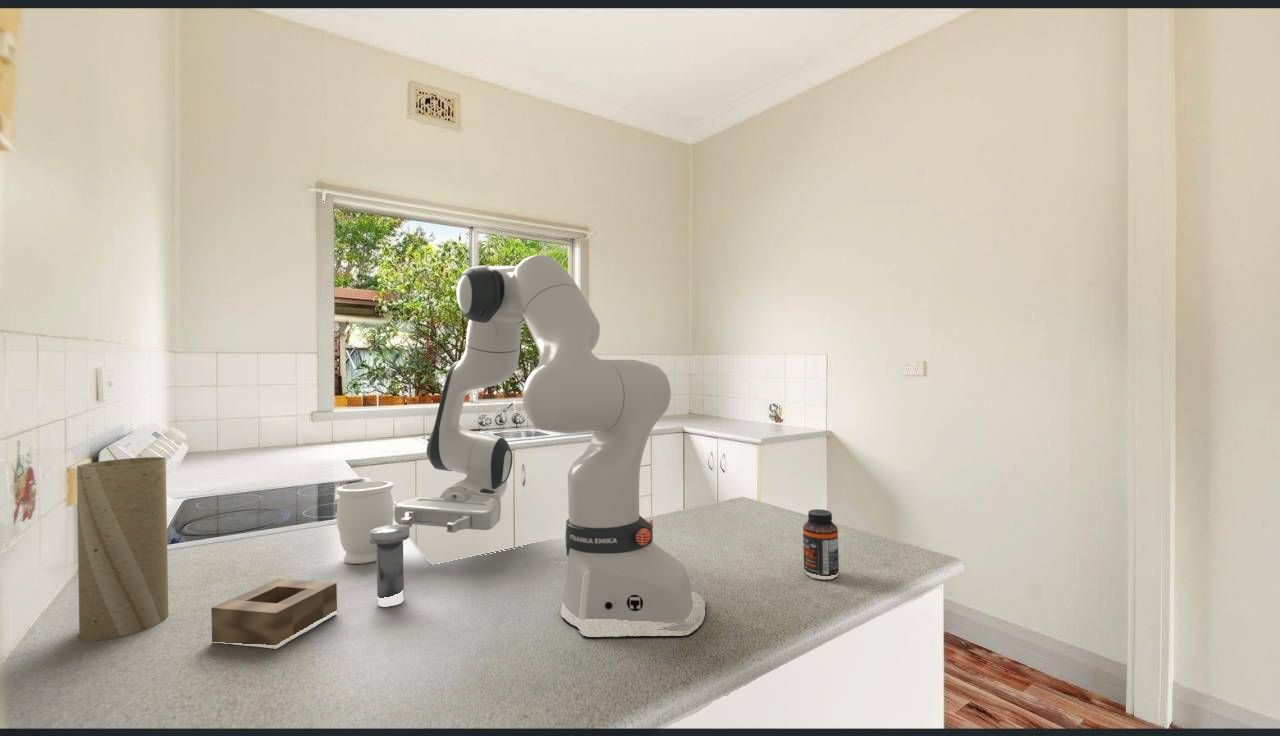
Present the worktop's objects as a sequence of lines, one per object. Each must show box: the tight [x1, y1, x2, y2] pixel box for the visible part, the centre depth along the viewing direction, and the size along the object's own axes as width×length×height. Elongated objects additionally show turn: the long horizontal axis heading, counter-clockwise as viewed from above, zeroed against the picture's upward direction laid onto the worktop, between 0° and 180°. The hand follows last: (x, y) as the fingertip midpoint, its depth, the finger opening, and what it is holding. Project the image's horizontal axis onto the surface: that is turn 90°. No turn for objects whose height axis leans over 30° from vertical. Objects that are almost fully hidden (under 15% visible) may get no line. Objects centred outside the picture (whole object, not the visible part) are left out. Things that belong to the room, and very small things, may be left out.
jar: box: [336, 480, 395, 565], centre depth 113 cm, size 11×10×15 cm
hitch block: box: [210, 578, 338, 645], centre depth 82 cm, size 11×11×5 cm
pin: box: [369, 524, 410, 598], centre depth 90 cm, size 6×6×12 cm
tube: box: [76, 456, 169, 641], centre depth 84 cm, size 10×10×25 cm
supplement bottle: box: [802, 508, 840, 576], centre depth 98 cm, size 6×6×11 cm
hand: (426, 526), depth 102 cm, fingers open, 8 cm apart
